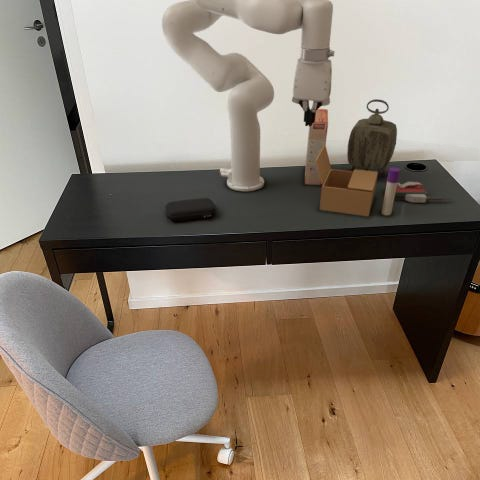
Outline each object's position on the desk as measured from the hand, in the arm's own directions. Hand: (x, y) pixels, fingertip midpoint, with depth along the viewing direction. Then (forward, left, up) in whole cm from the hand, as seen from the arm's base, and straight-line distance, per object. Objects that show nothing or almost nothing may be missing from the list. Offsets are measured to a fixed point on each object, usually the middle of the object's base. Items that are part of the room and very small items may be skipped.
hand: (309, 124), depth 144 cm
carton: (+14, 0, -23) cm, 27 cm away
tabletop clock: (+17, +24, -23) cm, 37 cm away
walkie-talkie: (+34, +11, -23) cm, 43 cm away
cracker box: (0, +17, -23) cm, 29 cm away
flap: (+5, 0, -11) cm, 12 cm away
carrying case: (-30, -21, -23) cm, 43 cm away
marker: (+26, -3, -23) cm, 35 cm away
